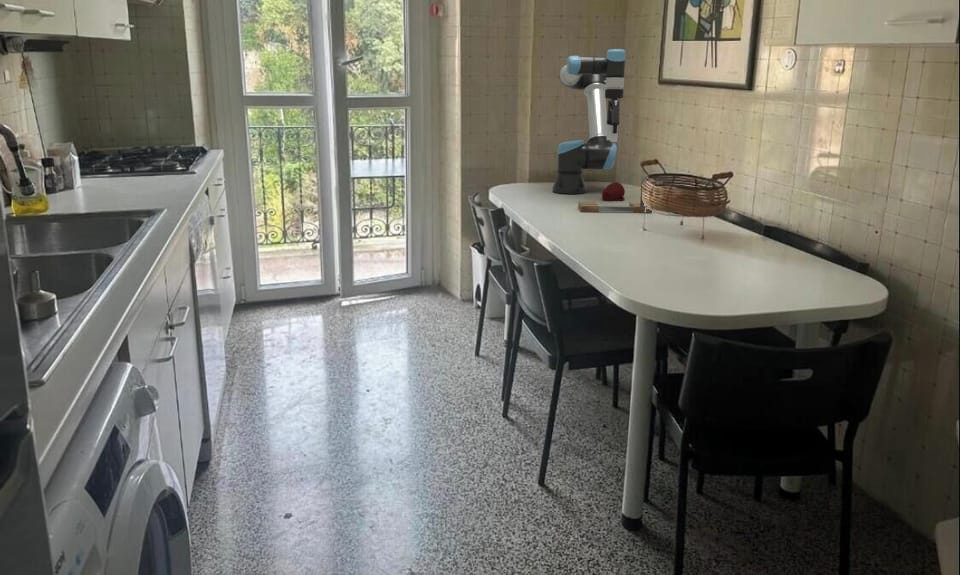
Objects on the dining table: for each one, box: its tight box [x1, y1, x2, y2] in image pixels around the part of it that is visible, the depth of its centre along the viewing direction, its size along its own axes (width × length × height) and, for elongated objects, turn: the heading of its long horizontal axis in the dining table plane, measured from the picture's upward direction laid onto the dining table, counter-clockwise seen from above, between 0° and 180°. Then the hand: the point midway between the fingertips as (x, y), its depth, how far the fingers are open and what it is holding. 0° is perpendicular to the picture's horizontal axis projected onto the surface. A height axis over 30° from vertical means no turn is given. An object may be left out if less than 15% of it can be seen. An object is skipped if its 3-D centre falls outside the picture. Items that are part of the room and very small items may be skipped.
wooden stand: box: [577, 175, 653, 214], centre depth 290 cm, size 13×28×14 cm, turn 88°
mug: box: [601, 181, 626, 202], centre depth 316 cm, size 10×8×10 cm
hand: (611, 141), depth 303 cm, fingers open, 13 cm apart
